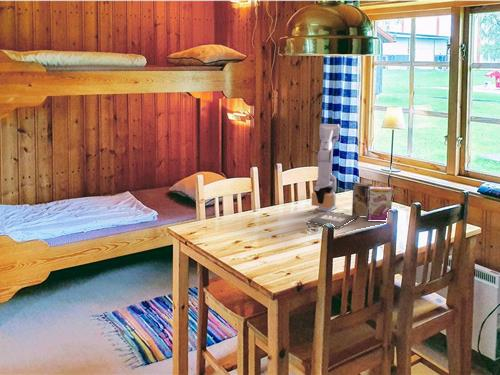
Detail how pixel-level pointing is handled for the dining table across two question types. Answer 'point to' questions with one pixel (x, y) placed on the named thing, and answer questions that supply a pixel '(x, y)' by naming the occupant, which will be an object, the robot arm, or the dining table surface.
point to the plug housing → (327, 200)
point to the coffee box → (360, 199)
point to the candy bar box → (379, 202)
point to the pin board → (332, 218)
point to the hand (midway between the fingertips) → (322, 202)
